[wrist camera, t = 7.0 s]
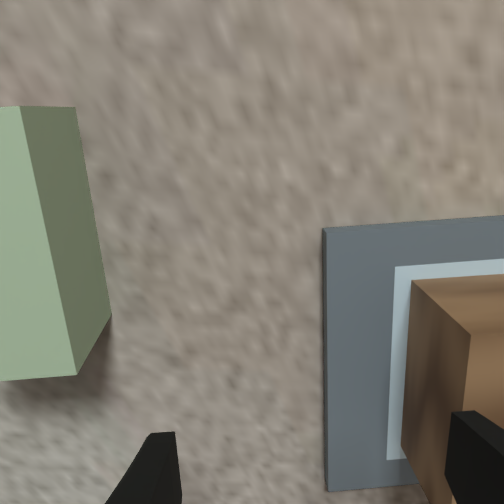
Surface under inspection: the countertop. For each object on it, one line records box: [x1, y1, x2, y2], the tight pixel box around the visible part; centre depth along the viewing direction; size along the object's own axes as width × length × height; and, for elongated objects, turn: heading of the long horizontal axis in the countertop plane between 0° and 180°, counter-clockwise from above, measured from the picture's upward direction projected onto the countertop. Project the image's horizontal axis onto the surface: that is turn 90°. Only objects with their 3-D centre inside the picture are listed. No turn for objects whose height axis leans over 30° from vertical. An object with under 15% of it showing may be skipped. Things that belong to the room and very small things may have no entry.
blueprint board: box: [323, 215, 504, 492], centre depth 21 cm, size 14×12×1 cm
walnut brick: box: [400, 274, 504, 504], centre depth 18 cm, size 9×4×5 cm, turn 3°
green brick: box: [0, 106, 112, 381], centre depth 16 cm, size 9×4×5 cm, turn 4°
